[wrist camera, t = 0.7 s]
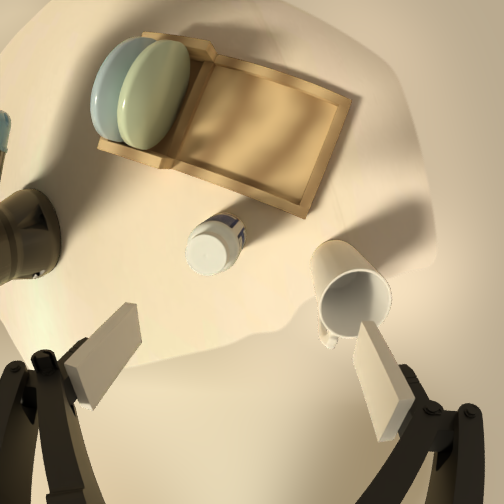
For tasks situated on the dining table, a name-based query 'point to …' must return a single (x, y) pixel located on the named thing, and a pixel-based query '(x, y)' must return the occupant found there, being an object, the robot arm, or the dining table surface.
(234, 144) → the dish rack
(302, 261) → the dining table surface
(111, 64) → the plate blue
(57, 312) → the dining table surface
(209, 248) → the pill bottle
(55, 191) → the dining table surface
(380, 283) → the mug
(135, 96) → the plate sage
